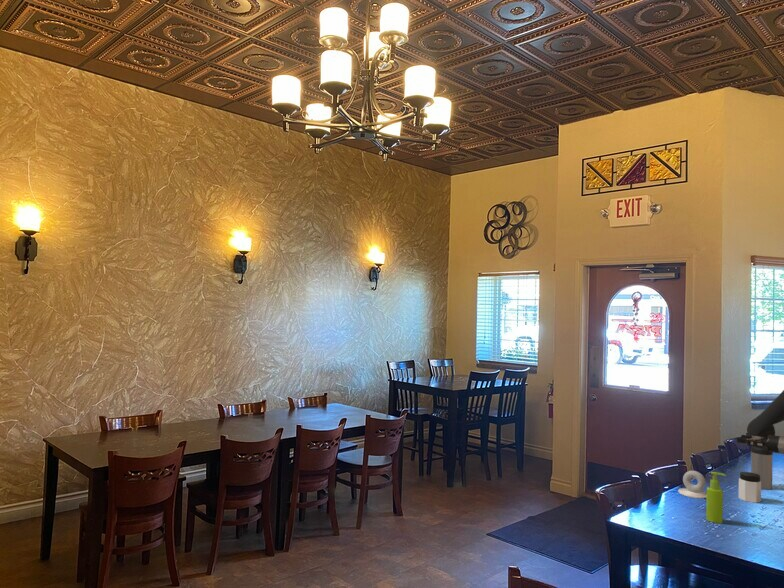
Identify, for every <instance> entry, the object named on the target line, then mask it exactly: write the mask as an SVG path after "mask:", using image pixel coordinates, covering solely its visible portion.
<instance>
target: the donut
mask: <svg viewBox="0 0 784 588" xmlns="http://www.w3.org/2000/svg"><path fill="white" fill-rule="evenodd" d="M692 479H696V481H697V484H693V483H692V481H691V480H692ZM682 484H684V487H685V488H687V489H689V490H690V491H693V492H700V491H704V489H705V487H706V485H707V484H706V479H705V477H704V475H703V474H702V473H700V472H699V471H696V470H688V471H686V472H685V473H684V474H683V477H682Z"/></svg>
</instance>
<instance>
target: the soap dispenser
mask: <svg viewBox="0 0 784 588" xmlns="http://www.w3.org/2000/svg"><path fill="white" fill-rule="evenodd" d="M711 475H712V478H711V479H709V480H710V482H709V483H710V485H709V486H706V493H707V498H706V507H705V508H706V513H705V514H706V517H705V520H706V519H707V520H708V521H707V520H706V521H707V522H709V521H711V522H710V523H713V522H714V523H713V524H723V515H724V514H723V511H724V509H723V508H724V507H723V506H724V505H723V504H724V492H723V491H724V490H723V489H722V488H721V487H720V480H718V476H723V477H726V476H727V474H726V473H723V472H718V471H711Z"/></svg>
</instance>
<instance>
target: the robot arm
mask: <svg viewBox="0 0 784 588" xmlns="http://www.w3.org/2000/svg"><path fill="white" fill-rule="evenodd" d="M783 421H784V389H783V390H782V391H781V392H780V393H779V394H778V395H777V397H776V398H775V399H774V400H772V402H771V403H770V404H768V406H767V407H766V408H765V409H764V410H763V411H762V412H761V413H760V414H759V415H758V416H756V417H755V418H753V419H752V420H751V421H749V423H748V424H747V427H746V433H747V435H746V434H741V436H740V437H739V436H738V437H736V443H738V444H739V443H740V444H744V445H745V444H746V445H747V446H748V447H749V446H750V472H751V473H755V474H758V475H760V481H761V490H772V489H773V468H774V467H773V465H774V464H773V459H774V457H773V454H774V453H776V454H779V455H780V454H781V455H784V436H779V435H776V429H775V425H776V424H778V423H782V422H783Z"/></svg>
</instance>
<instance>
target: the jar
mask: <svg viewBox="0 0 784 588" xmlns="http://www.w3.org/2000/svg"><path fill="white" fill-rule="evenodd" d="M738 499H740V500H742V501H744V502H746V503H747V502H748V503H753V502H754V504H758V503H760V502H762V489H761V481H760V475H758V474H755V473H751V471H750V472H749V471H740V472H739V478H738Z"/></svg>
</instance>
